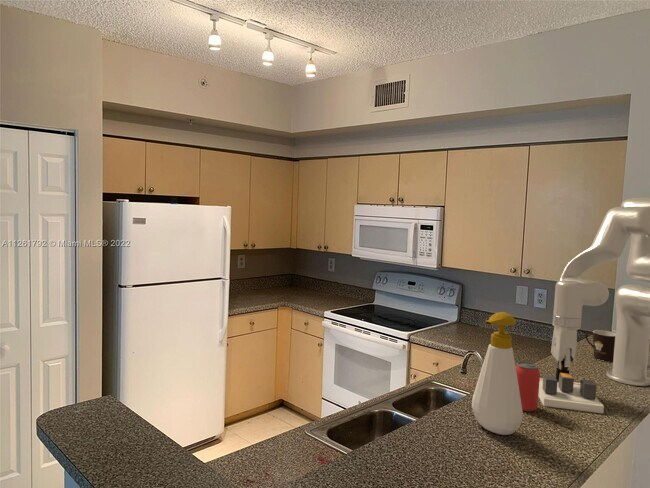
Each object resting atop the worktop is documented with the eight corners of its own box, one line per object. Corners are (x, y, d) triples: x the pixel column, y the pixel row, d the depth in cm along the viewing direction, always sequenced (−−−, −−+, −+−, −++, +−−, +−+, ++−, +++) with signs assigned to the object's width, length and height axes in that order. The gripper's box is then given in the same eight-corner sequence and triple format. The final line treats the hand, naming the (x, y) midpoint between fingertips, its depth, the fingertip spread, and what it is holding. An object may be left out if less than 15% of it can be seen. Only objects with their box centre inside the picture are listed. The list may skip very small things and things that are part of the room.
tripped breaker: (558, 386, 142) (559, 372, 142) (569, 387, 141) (570, 373, 141) (561, 391, 138) (562, 376, 138) (572, 392, 137) (573, 378, 137)
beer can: (539, 413, 127) (543, 369, 126) (513, 410, 129) (517, 367, 128) (534, 404, 134) (537, 362, 133) (509, 401, 135) (512, 359, 134)
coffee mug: (621, 363, 176) (624, 336, 175) (598, 362, 176) (600, 335, 175) (604, 353, 187) (606, 328, 187) (582, 352, 188) (584, 327, 187)
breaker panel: (532, 383, 150) (533, 364, 150) (584, 389, 147) (585, 369, 146) (543, 405, 133) (545, 383, 132) (603, 413, 129) (605, 390, 129)
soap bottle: (457, 425, 118) (464, 309, 116) (482, 415, 124) (489, 306, 122) (504, 447, 108) (513, 320, 106) (528, 435, 114) (537, 316, 112)
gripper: (548, 315, 151) (543, 372, 152) (558, 326, 136) (553, 388, 137) (574, 317, 149) (569, 375, 150) (587, 328, 134) (582, 392, 136)
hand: (561, 381), depth 144 cm, fingers closed
